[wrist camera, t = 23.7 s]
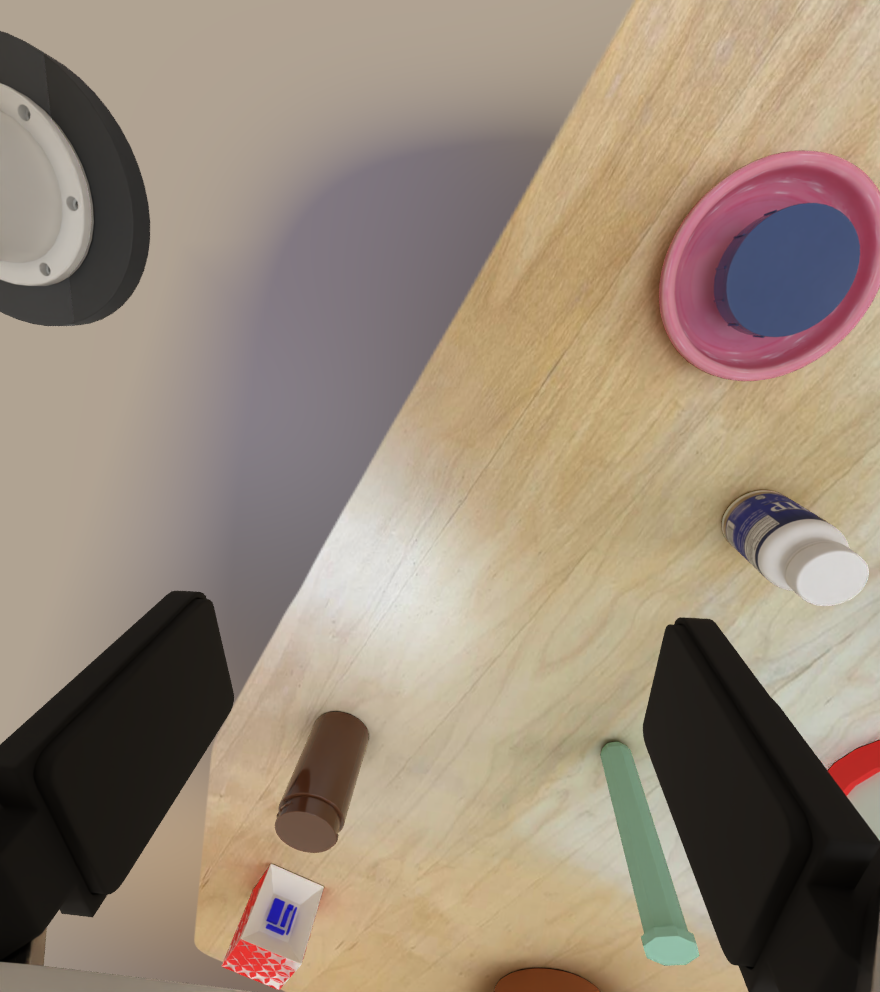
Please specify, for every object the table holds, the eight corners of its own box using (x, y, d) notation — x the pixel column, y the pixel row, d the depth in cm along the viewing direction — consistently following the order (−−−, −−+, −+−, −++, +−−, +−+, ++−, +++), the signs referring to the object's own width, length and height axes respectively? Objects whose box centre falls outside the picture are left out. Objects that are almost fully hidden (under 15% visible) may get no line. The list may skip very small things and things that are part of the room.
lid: (847, 198, 25) (871, 190, 24) (829, 326, 28) (849, 327, 26) (716, 222, 26) (730, 216, 25) (709, 343, 29) (722, 345, 27)
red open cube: (252, 890, 63) (220, 966, 56) (270, 863, 60) (240, 938, 53) (304, 913, 64) (279, 990, 57) (324, 886, 61) (302, 964, 54)
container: (598, 731, 46) (649, 931, 31) (637, 736, 45) (706, 940, 31) (591, 758, 47) (637, 960, 32) (629, 763, 47) (692, 970, 32)
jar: (311, 745, 51) (269, 845, 41) (316, 705, 48) (273, 802, 39) (365, 758, 51) (335, 861, 41) (372, 718, 48) (343, 819, 39)
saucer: (703, 139, 27) (728, 118, 24) (898, 199, 27) (946, 185, 24) (617, 346, 32) (629, 349, 29) (783, 396, 32) (812, 405, 29)
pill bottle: (806, 500, 35) (903, 557, 27) (768, 556, 37) (847, 626, 29) (741, 479, 35) (818, 530, 26) (706, 537, 37) (768, 601, 29)
